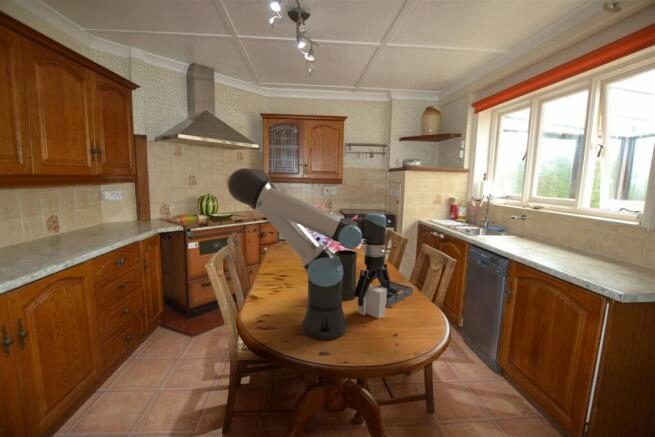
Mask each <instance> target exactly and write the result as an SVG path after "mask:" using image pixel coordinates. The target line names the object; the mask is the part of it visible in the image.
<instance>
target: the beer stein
mask: <svg viewBox="0 0 655 437" xmlns="http://www.w3.org/2000/svg"><path fill="white" fill-rule="evenodd" d="M334 254H336V255H337V256H338V257H339V259H340V260H341V263H342V266H343V284H342V301H349V300H350V301H351V300H353V299H356V298H357V297H356V296H354V293H355V290H356V287H357V258H358V252H357V251H354V250H351V249H346V250H345V249H342V250H341V249H339V250H336V251H335V252H334Z"/></svg>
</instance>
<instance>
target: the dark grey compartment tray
mask: <svg viewBox="0 0 655 437" xmlns="http://www.w3.org/2000/svg"><path fill="white" fill-rule="evenodd" d="M390 281H391V284H390V288H387V299H386V305H385V308H388V307H390V306H392V305H393V304H396V303H398V302H400V301H401V300H403V299H404V300H405V298H408V297H409V296H411V295H413V291H414V288H413V287H411V286H409V285H405V284H401V283H399V282H395V281H392V280H390ZM375 287H378V288H380V287H383V286H382V285H381V284H379V285H377V286H375Z"/></svg>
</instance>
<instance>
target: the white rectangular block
mask: <svg viewBox="0 0 655 437" xmlns="http://www.w3.org/2000/svg"><path fill="white" fill-rule="evenodd" d="M365 297H366V309H365V314H367V315H370V316H372V317H374V318H376V319H380V318H381V319H382V318H383V317H385V315H386V307H385V305H386V290H384V289H381V288H378V287H376V286H374V285H372V284H370V286H369V288H368V290H367V292H366V294H365Z"/></svg>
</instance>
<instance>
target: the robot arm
mask: <svg viewBox="0 0 655 437" xmlns="http://www.w3.org/2000/svg"><path fill="white" fill-rule="evenodd" d="M227 190H228V193H229V195H231V197H232V198H233V199H234V200H236V201H238V202H240V203H241V204H244V205H247V206H249V207H250V208H251V209H252V210H253V211H255V212H260V213H261V214H262V215H263V217H265V219H267V221H268V222H269V224H271V226H273V228H274V229H275V230H276V231H277V232H278V233H279V235H280V236H281V237H282V238H283V239H284V240H285V241H286V243H287V244H289V246H290V247H291V248H292V250H294V251H295V252H296V254H297V255H298V256H299V257H300V258H301V260H302V261H301V262H302V263H301V266H302V267H303V268H304V269H305V270H306V272H307V279H308V280H307V308H306V311H305V315H304V318H303V319H302V331H303V333H304V334H305V335H306V336H308V337H309V338H312V339H315V340H316V339H317V340H326V341H327V340H334V339H337V338H340V337H342V336H343V335H344V334H345V333H347V325H348V324H347V320H346V317H345V314H344V310H343V300H342V284H343V266H342V263H341V260H340V259H339V257H338V256H337V255H336V254H335V252H333V251H331V249H329V248H328V246H327V245H326V244H320V243H319V242H318V241H317V240H316V239H315V238H314V237H313V235H312V234H311V233H310V232H309V230H311V231H312V232H315V233H316V234H319V235H322V236H324V237H326V238H328V239H330V240H333V241H334V242H336V243H339V245H341V246H342V247H343V248H344V249H346V250H354V249H356V248H357V247H359V246H360V245H361V243H362V240H364V253H365V254H364V262H363V263H364V265H365V266H366V268H365V269H360V273H359V278H358V281H357V283H356V290H355V293H354V296H356V298H358V299H357V300H358V301H357V305H358V306H357V308H358V313H359V314H360V315H363V316H365V315H366V313H365V309H366V297H365V294H366V292H367V290H368V288H369V286H370V285H372V284H371V283H373V282H374V280H376V279H377V280H378V282H379V283H380V284H379V285H382V286H383V287H380V288H381V289H384V290H386V299H387V288H390V284H391V281H392V280H391V279H390V274H389V271H388V264H386V263H385V260H386V258H385V256H386V255H385V254H386V253H385V252H386V233H387V230H386V229H387V217H386V215H385V214H384V213H379V212H372V213H371V212H368V213H366V214H365V218H344V217H342V218H340V217H338V216H336V215H334V214H332V213H330V212H328V211H326V210H323V209H321V208H318V207H316V206H314V205H312V204H310V203H308V202H306V201H303V200H301V199H298V198H296V197H294V196H292V195H291V194H288V193H285V192H283V191H281V190H279V189H278V188H277V187H276V186H275V184H274V183H273V182H272V180H271V177H270V175H268V174H267V173H266V172H265V171H263V170H261V169H259V168H248V167H247V168H239V169H236V170H235V171H233V172H232V173H231V174H230V176H229V177H228V181H227ZM307 229H309V230H307Z"/></svg>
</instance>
